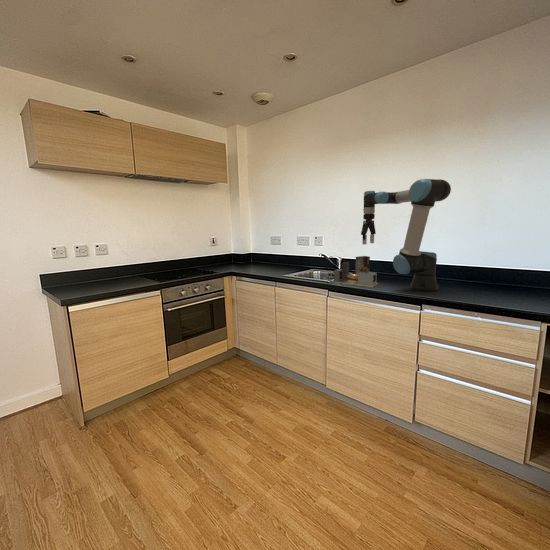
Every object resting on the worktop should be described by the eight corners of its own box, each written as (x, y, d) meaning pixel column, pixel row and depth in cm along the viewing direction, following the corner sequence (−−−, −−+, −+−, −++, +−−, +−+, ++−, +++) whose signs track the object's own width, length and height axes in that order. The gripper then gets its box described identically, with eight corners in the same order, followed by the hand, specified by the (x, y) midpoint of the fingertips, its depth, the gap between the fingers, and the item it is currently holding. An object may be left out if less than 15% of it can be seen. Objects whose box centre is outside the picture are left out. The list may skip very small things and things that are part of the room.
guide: (378, 284, 193) (378, 272, 192) (372, 287, 186) (373, 274, 184) (338, 280, 213) (338, 269, 211) (331, 282, 205) (331, 271, 204)
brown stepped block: (363, 281, 196) (364, 263, 194) (361, 282, 194) (362, 263, 192) (340, 279, 208) (340, 261, 206) (337, 280, 205) (337, 262, 203)
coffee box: (364, 275, 228) (364, 255, 226) (369, 277, 222) (370, 256, 220) (354, 276, 225) (355, 256, 222) (360, 278, 219) (360, 257, 216)
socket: (343, 280, 208) (344, 269, 207) (339, 281, 203) (339, 270, 201) (339, 279, 211) (339, 269, 210) (333, 281, 205) (334, 270, 204)
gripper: (370, 214, 213) (370, 242, 217) (356, 213, 195) (355, 244, 198) (380, 213, 209) (379, 242, 212) (367, 213, 190) (366, 245, 193)
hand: (368, 243), depth 205 cm, fingers open, 13 cm apart
